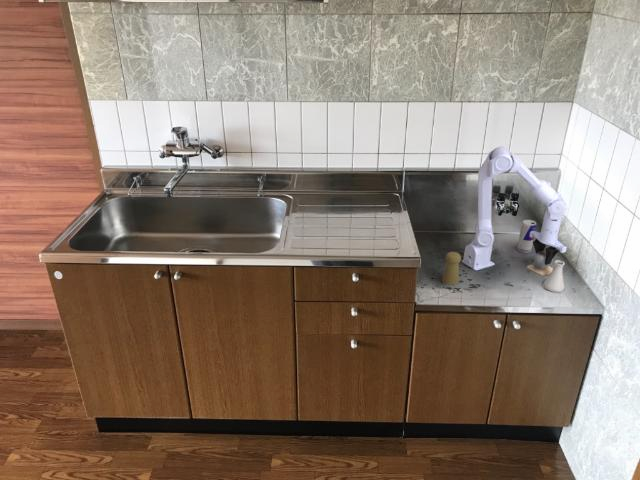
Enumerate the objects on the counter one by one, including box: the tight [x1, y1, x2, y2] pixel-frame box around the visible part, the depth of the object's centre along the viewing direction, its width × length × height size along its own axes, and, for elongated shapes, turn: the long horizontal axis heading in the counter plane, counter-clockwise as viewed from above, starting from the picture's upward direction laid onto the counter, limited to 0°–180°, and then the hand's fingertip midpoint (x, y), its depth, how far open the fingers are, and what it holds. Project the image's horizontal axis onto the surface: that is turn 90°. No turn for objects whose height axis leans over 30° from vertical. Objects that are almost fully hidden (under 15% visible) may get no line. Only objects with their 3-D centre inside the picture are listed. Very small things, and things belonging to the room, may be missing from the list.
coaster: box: [526, 263, 554, 277], centre depth 190 cm, size 7×7×1 cm
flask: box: [542, 259, 566, 294], centre depth 177 cm, size 7×7×10 cm
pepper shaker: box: [441, 251, 462, 286], centre depth 181 cm, size 6×6×11 cm
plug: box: [533, 249, 554, 269], centre depth 188 cm, size 8×4×5 cm, turn 117°
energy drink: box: [516, 219, 537, 254], centre depth 201 cm, size 5×5×12 cm
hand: (543, 261), depth 189 cm, fingers closed on plug, 3 cm apart
